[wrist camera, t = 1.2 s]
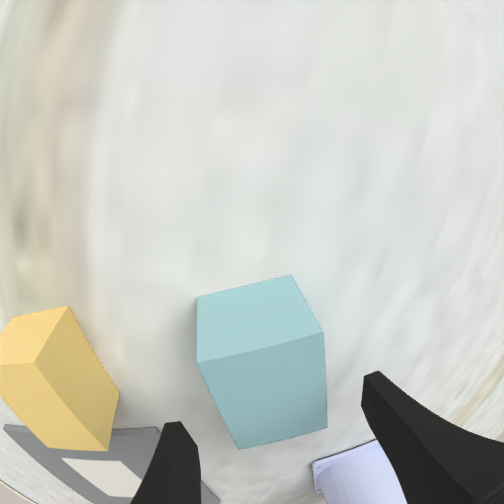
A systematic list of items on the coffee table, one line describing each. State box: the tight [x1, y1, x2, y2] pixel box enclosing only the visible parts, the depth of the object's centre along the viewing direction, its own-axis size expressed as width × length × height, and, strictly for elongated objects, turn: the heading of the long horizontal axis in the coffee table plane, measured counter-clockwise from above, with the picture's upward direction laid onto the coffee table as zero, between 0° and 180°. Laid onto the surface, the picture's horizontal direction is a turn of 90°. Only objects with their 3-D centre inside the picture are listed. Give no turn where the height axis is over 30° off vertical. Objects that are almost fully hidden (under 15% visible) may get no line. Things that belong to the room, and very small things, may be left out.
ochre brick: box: [0, 305, 120, 451], centre depth 12 cm, size 6×4×4 cm
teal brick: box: [196, 275, 327, 450], centre depth 13 cm, size 6×4×4 cm
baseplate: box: [3, 424, 220, 504], centre depth 19 cm, size 16×16×1 cm
